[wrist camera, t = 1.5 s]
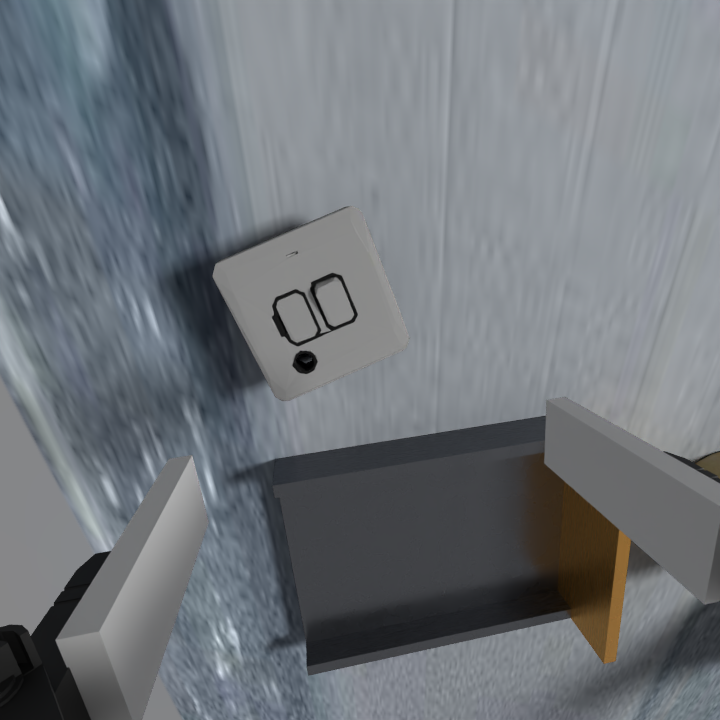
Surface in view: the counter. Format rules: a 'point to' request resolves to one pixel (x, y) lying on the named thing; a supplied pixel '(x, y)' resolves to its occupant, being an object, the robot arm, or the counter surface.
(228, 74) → the counter surface
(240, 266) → the electrical switch
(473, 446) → the drawer
